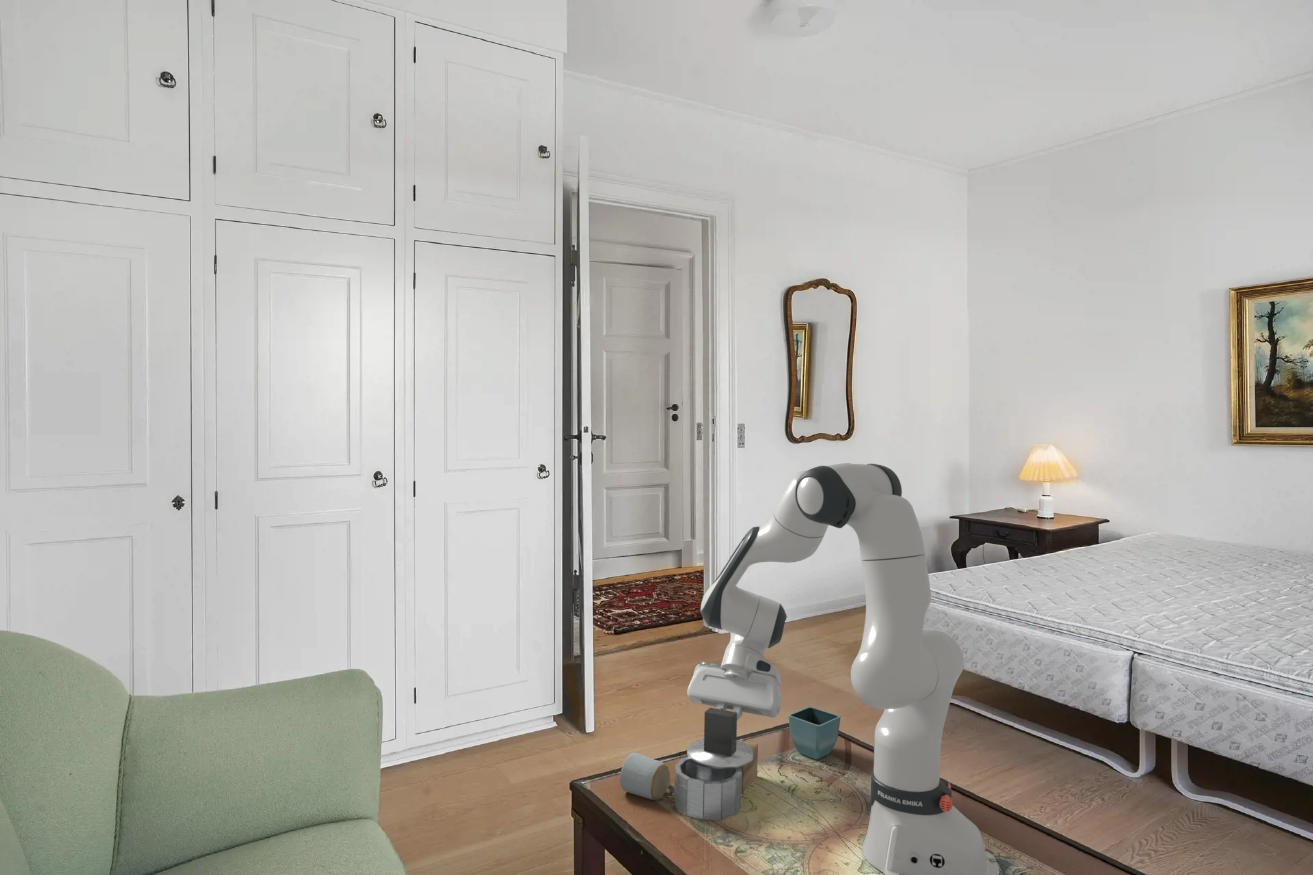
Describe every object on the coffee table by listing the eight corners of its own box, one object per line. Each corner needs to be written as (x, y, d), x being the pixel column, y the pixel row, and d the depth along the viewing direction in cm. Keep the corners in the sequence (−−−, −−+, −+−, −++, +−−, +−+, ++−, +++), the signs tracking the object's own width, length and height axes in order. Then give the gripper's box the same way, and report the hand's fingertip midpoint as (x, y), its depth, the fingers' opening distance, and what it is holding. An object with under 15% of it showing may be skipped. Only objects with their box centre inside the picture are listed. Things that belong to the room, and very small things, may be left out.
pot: (749, 796, 159) (749, 762, 159) (726, 825, 147) (727, 789, 147) (690, 782, 164) (690, 749, 164) (664, 809, 153) (664, 774, 152)
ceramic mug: (653, 807, 154) (654, 768, 154) (618, 796, 158) (619, 759, 158) (679, 787, 163) (680, 750, 163) (645, 777, 167) (646, 741, 167)
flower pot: (786, 753, 180) (787, 714, 180) (809, 742, 186) (810, 705, 186) (818, 765, 174) (818, 725, 173) (840, 754, 180) (841, 716, 179)
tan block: (757, 775, 168) (757, 744, 168) (743, 793, 160) (743, 760, 160) (713, 766, 172) (714, 735, 172) (697, 783, 164) (698, 750, 164)
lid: (761, 748, 165) (762, 707, 164) (740, 774, 152) (741, 729, 152) (701, 736, 170) (702, 696, 170) (676, 760, 158) (677, 717, 158)
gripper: (693, 653, 174) (675, 711, 166) (783, 667, 165) (768, 729, 157) (701, 668, 178) (683, 725, 170) (788, 682, 169) (774, 743, 161)
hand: (724, 727), depth 163 cm, fingers closed, pressing on lid
